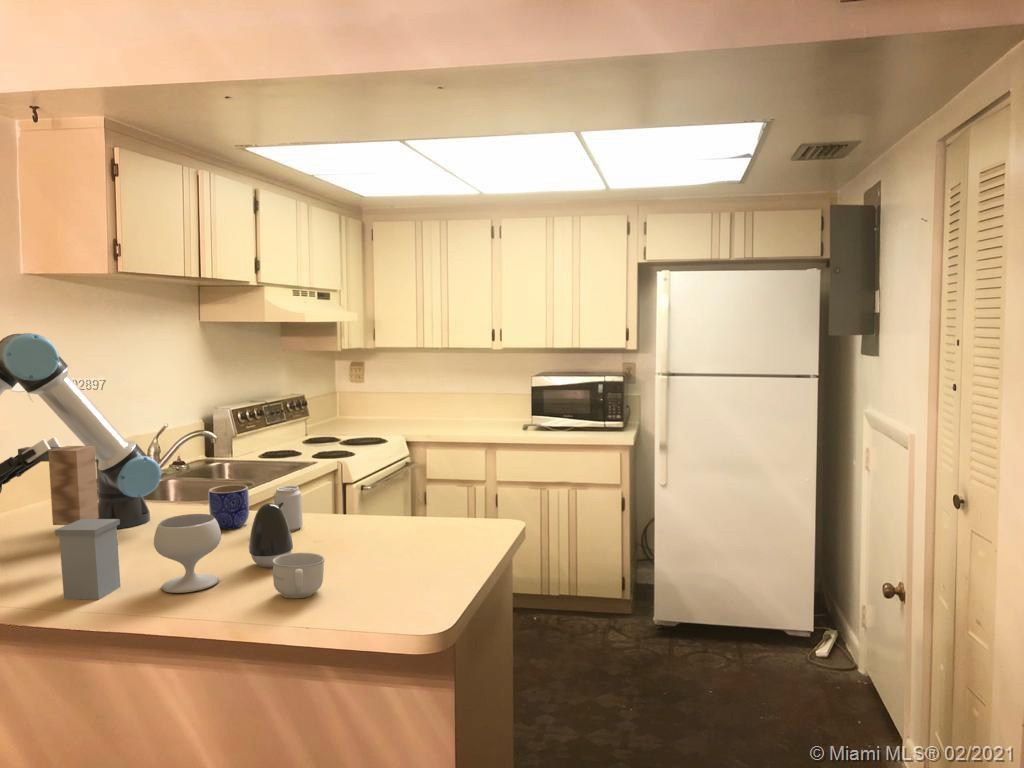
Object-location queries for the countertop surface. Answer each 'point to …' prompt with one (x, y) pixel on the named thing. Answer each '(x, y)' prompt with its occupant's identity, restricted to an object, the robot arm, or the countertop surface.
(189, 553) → the chalice
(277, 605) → the countertop surface
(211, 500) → the planter
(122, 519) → the robot arm
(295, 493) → the can
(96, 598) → the stand
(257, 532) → the pump dispenser
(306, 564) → the teacup
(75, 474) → the walnut handle block
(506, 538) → the countertop surface
